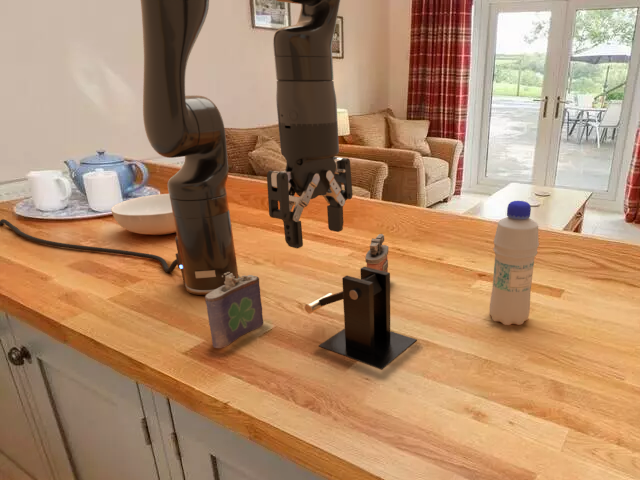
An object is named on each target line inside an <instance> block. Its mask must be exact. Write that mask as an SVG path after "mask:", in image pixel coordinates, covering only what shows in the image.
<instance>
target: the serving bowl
mask: <svg viewBox="0 0 640 480" xmlns="http://www.w3.org/2000/svg"><path fill="white" fill-rule="evenodd" d="M110 211H111V215H112V216H113V219H114V220H115V221H116V222H117V224H118V225H119V226H120V227H122V229H124V230H127V231H128V232H131V233H135V234H140V235H150V236H163V235H171V234H174V233H175V234H176V228H175V223H174V217H173V213H172V207H171V202H170V196H169V193H161V194H150V195H144V196H139V197H134V198H130V199H127V200H124V201H122V202H118V203H116V204H115V205H113V206H112V207H111V208H110Z"/></svg>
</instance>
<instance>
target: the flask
mask: <svg viewBox="0 0 640 480" xmlns="http://www.w3.org/2000/svg"><path fill="white" fill-rule="evenodd" d="M229 273H230V272H227V273H224V275H227V274H229ZM222 277H223V275H222ZM225 277H226V279H225V282H224V283H225V285H223V286H221V287H219V288H217V289H215V290H214V291H212V292H210V293H208V294H207V295H204V299H205V305H206V311H207V317H208V325H209V330H210V336H211V342H212V347H213V348H215V349H222V348H223V349H224V348H225V347H228V346H230V344H232V343H233V342H235V341H236V340H238V339H240V337H242V336H244V335H245V334H247V333H250V332H252V331H254V330H256V329H259V328H261V327H263V326H264V317H263V305H262V298H261V287H260V278H259V277H258V275H253V274H248V275H242V276H241V277H239V278H238V279H236V278H234V277H235V276H233V274H232V273H230V274H229V275H227V276H225Z"/></svg>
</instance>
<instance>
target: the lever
mask: <svg viewBox="0 0 640 480" xmlns="http://www.w3.org/2000/svg"><path fill="white" fill-rule="evenodd" d="M362 280H365V281H369V282H373V295H375V294H376V293H378V292H380V291H381V290H382V289H381V287H380V284H379V282H378V280H377V277H376V275H375V274H374V275H372V276H369V277H366V278H363V279H362ZM339 301H343V290H342V291H338V292H335V293H332V292H327V293H325V294H323V295H322V296H320V297H318V298H316V299H314V300H312V301H311V302H309V303H306V305H304V310H305V312H306V313H307V314H312V313H314V312H316V311H318V310H320V309H322V308H323V307H325V306H327V305H330V304H334V303H336V302H339Z"/></svg>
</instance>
